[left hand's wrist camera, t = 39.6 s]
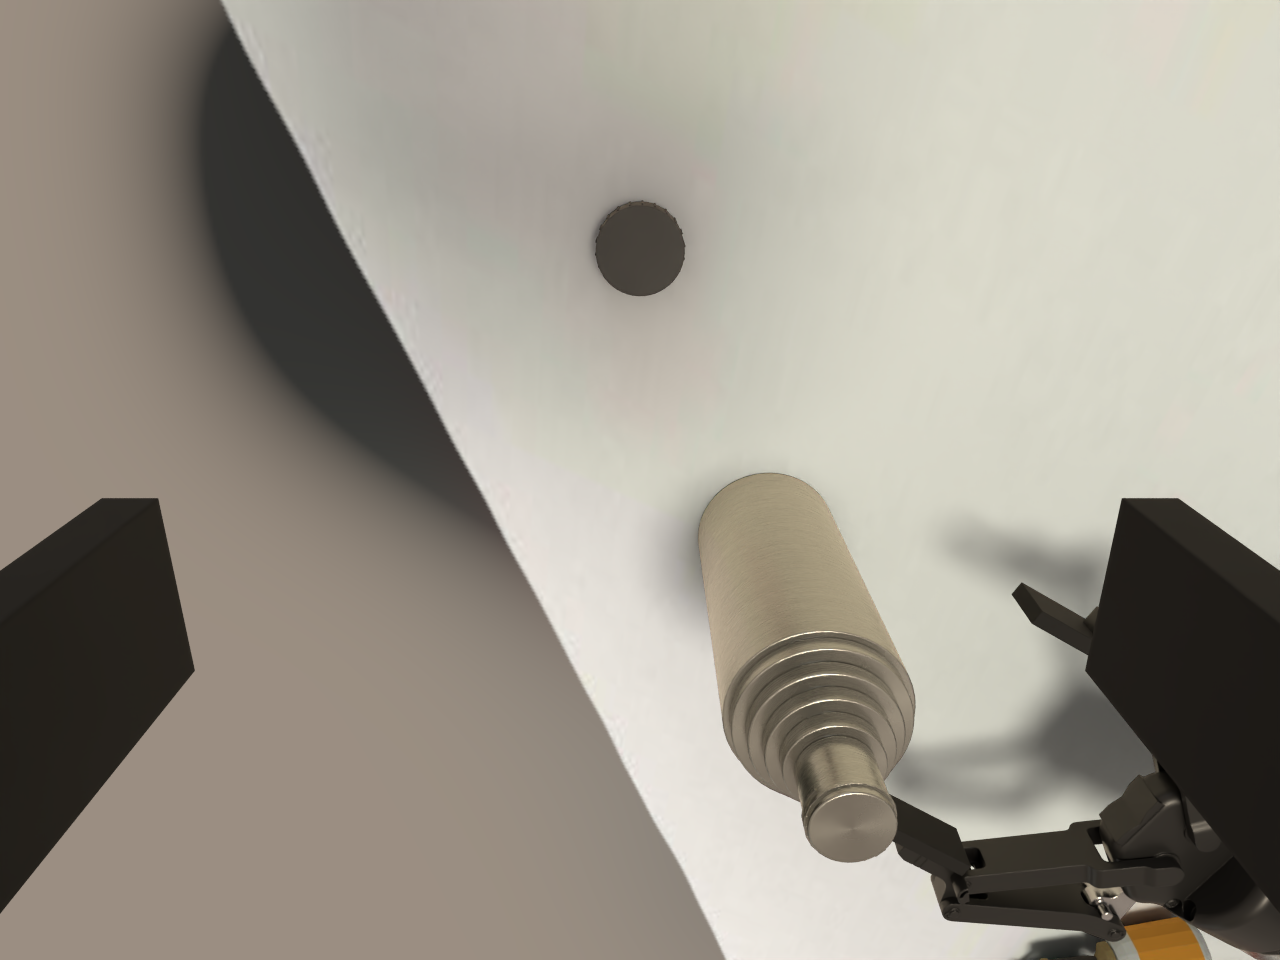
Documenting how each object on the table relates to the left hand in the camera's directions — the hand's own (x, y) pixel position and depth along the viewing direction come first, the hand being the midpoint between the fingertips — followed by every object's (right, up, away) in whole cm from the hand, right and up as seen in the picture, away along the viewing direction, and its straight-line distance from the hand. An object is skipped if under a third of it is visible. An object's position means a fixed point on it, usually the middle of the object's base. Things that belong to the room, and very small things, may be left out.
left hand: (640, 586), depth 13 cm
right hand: (+15, -10, +32) cm, 36 cm away
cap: (0, +13, +32) cm, 34 cm away
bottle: (+7, -2, +39) cm, 40 cm away
